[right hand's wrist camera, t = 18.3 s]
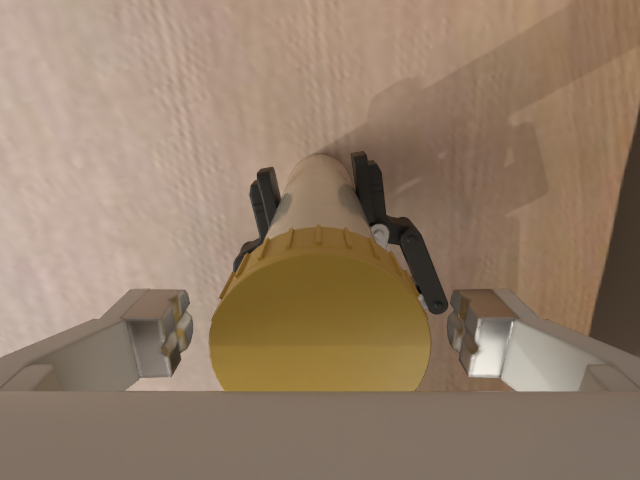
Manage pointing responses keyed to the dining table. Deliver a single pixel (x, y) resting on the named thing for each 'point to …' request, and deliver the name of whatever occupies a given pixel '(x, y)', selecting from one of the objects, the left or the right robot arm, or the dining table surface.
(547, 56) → the dining table surface
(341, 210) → the bottle
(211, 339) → the lid
